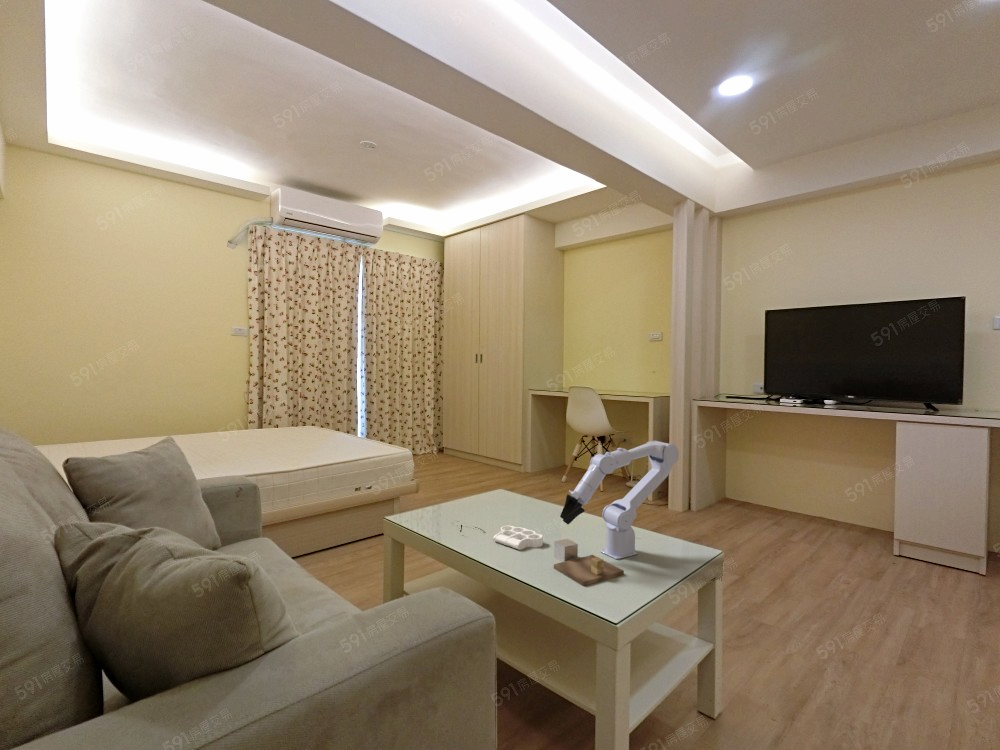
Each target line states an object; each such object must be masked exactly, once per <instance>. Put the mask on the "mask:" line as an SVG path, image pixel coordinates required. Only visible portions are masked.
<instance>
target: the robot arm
mask: <svg viewBox="0 0 1000 750" xmlns="http://www.w3.org/2000/svg"><path fill="white" fill-rule="evenodd" d="M679 452H680V451H679V448H678V446H677V445H676V444H674V443H668V442H662V441H659V440H652V441H647V442H646V443H644V444H641V445H639V446H636V447H633V448H630V449H626V448H623V447H618V448H616V450H614V451H607V452H605V453H604V454H600V453H597V454H596V455H594V456H591V459H590V461H589V466H588V468H587V470H586V472H585V473H584V475H583V476H582V478H581V479H580V481H579V482H578V484H577V485H576V487H575V488H574V490H573V491H572V490H571V489H569V490H568V493H569V494H566V497H565V502H564V506H563V508H562V509H561V510H562V511H561V513H560V516H559V517H560V518H561V520H562V519H563V520H562V521H563V522H564V523H565V524H566V525H569V524H571V523H572V522H573V521H574V520H575V519H576V518H578V517H579V515H581V514H583V513H585V512H586V510H585V509H584V508H583V506H586V505H588V502H589V501H590V500H591V498H592V497H593V496H594V494H595V492H596V491H597V489H598V487H599V486H600V485H601V483H602V481H603V480H604V478H605V477H606V475H609V474H610V475H612V473H614V471H615V470H617V469H620V468H622V467H625V466H628V465H630V464H631V462H632V461H633V460H636V459H640V458H644V457H648V459H649V463H650V466H651V469H650V470H649V471H648V472H647V473H646V474H645V475H644V476H643V477H642V478H641V479H640V480H639V481H638V482H637V483H636V484H635V485H634V486H633V488H631V489H630V490H629V492H627V494H625V496H624V497H623V498H619V499H616V500H614V501H613V502H612V503H610V504H607V505H606V506H605V507H604V508H603V509H602V515H601V516H602V519H603V520H604V522H605V527H606V528H605V530H606V535H605V536H606V537H605V539H606V541H605V548H603V549H600V552H601V553H603V554H605V555H606V556H609V557H611V558H612V559H615V560H621V559H624V558H628V557H632V556H635V555H637V554H638V553H637V552H636V533H635V530H634V528H633V527H632V526H633V524H634V521H635V519H636V518H637V515H638V514H637V512H636V510H637V509H638V508H639V507H640V505H642V504H643V503H644V502H645V501H646V500H647V498H648V497H650V496H651V494H653V493H654V491H655V490H656V489H657V488H658V487H659V486H660V485H661V484H662V483H663V482H664V481H665V480H666V478H668V477H669V475H670V472H671V471H672V468H673V466H674V465H675V464H676V463H677V462H678V461H679V460H680V459H679Z"/></svg>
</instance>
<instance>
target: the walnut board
mask: <svg viewBox="0 0 1000 750" xmlns="http://www.w3.org/2000/svg"><path fill="white" fill-rule="evenodd" d="M553 569H555V570H556V571H557V572H559V573H561V574H563V575H564V576H566V577H567V578H568V579H571V580H573V581H574V582H576V583H578V584H580V585H581V586H582V587H585V586H589V585H593V584H595V583H600V582H602V581H607V580H609V579H613V578H616V577H620V576H623V575H624V572H625V571H624V569H621V568H619V567H618V566H615V565H614V564H612V563H610V562H608V561H606V560H604V559H603V558H601V557H600V556H596V555H594V554H589V555H586V556H582V557H578V558H577V559H573V560H569V561H565V562H561V561H560V562H559V563H554V564H553Z"/></svg>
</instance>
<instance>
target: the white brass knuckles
mask: <svg viewBox="0 0 1000 750" xmlns="http://www.w3.org/2000/svg"><path fill="white" fill-rule="evenodd" d="M492 541H493V542H495V543H498V544H502V545H505V546H507V547H510V548H513V549H516V550H518V551H521V550H523V549H525V548H541V547H543V545H544V535H543V534H541V533H537V532H536V531H534V530H533V529H527V528H525V527H521V526H519V527H518V526H513V525H504V526H501V527H500V531H499V532H498V533H496V534H495V535H494V536H493V537H492Z"/></svg>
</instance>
